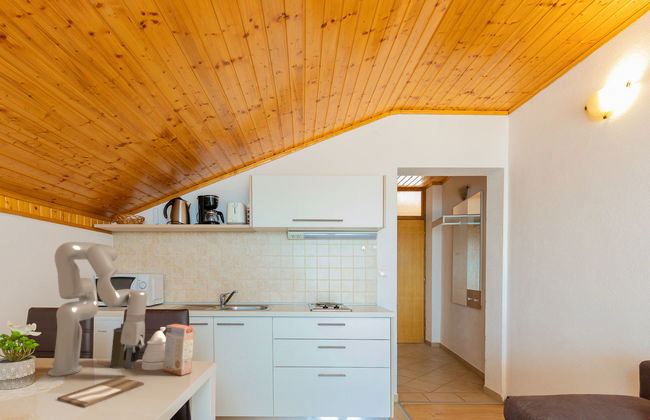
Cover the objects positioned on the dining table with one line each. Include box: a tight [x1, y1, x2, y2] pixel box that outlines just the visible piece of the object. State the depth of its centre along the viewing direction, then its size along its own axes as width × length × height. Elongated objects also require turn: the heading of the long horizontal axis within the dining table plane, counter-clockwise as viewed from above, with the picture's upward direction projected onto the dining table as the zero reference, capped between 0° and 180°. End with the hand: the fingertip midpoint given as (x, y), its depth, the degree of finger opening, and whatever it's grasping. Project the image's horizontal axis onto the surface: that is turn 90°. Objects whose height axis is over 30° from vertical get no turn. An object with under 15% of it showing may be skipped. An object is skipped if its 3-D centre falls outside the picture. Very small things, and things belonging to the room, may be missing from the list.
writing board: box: [56, 376, 145, 409], centre depth 135 cm, size 16×24×1 cm, turn 157°
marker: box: [124, 345, 137, 370], centre depth 153 cm, size 4×4×12 cm
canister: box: [109, 322, 126, 369], centre depth 169 cm, size 11×10×20 cm
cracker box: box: [162, 323, 195, 376], centre depth 161 cm, size 14×6×21 cm, turn 58°
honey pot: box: [141, 326, 167, 371], centre depth 168 cm, size 13×13×18 cm
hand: (130, 359), depth 153 cm, fingers closed on marker, 4 cm apart
